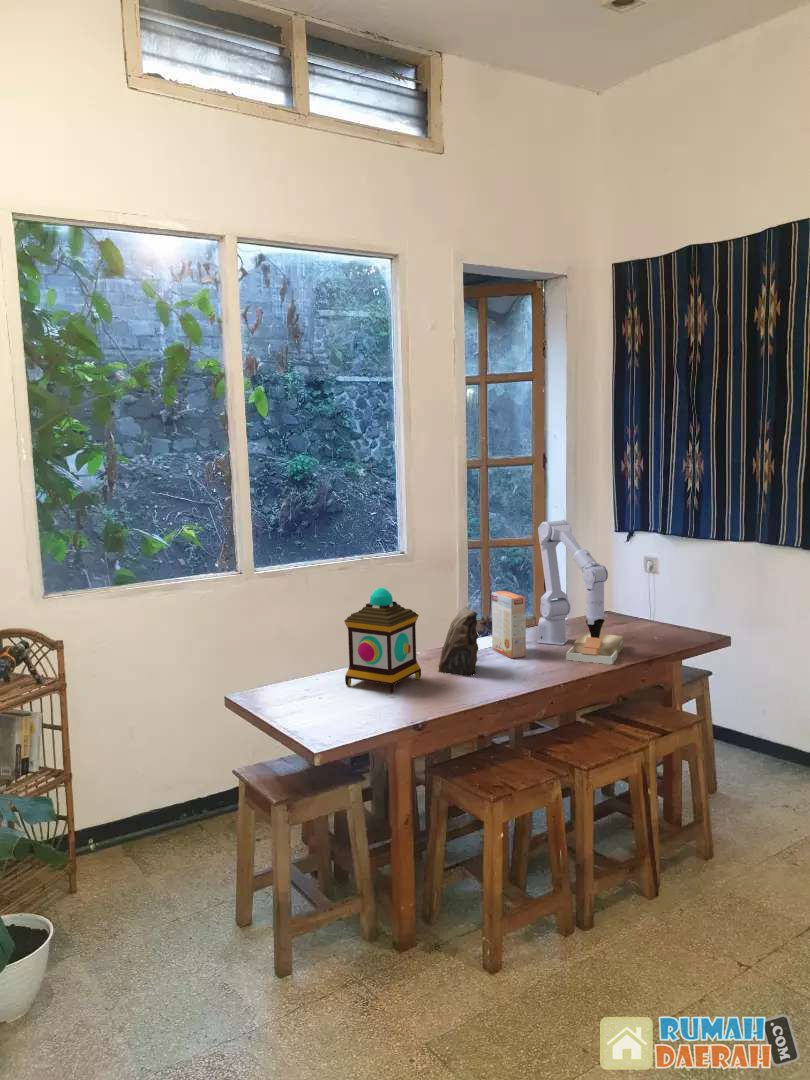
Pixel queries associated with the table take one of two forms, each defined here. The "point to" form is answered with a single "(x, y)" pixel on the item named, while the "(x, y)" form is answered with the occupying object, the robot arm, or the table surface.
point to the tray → (590, 657)
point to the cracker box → (509, 624)
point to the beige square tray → (607, 647)
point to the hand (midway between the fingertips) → (595, 640)
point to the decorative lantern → (382, 642)
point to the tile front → (589, 651)
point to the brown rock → (460, 645)
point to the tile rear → (593, 643)
